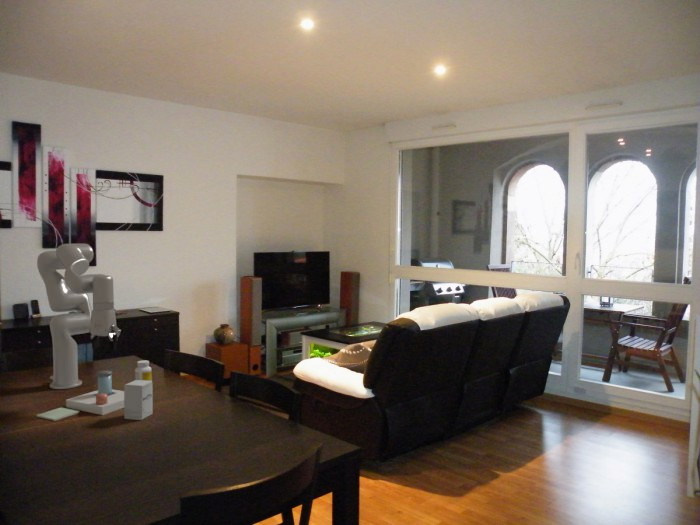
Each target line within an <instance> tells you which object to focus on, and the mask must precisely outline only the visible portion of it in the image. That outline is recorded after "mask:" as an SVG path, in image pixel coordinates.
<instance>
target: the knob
mask: <svg viewBox="0 0 700 525" xmlns="http://www.w3.org/2000/svg"><path fill="white" fill-rule="evenodd" d="M107 402H108V400H107V394H106V393H100V394H97V395H96V404H105V403H107Z"/></svg>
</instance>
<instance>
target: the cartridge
mask: <svg viewBox="0 0 700 525" xmlns="http://www.w3.org/2000/svg"><path fill="white" fill-rule="evenodd" d="M112 375H113V371H112V370H100V371H96V376H97V390H98V394H100V393H106V394H107V396H109V395H112V389H113V387H112V386H113V385H112V384H113V382H112V381H113V380H112Z"/></svg>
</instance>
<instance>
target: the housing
mask: <svg viewBox="0 0 700 525" xmlns="http://www.w3.org/2000/svg"><path fill="white" fill-rule="evenodd" d="M97 394H98V389H97V390H94V391H90V392H88V393H84V394H79V395H77V396H73V397H70V398H68V399H65V408H67V409H72V410H77V411H82V412H87V413H91V414H96V415H101V416H104V415H106V414H109V413H112V412H115V411H119V410H121V409H123V408H124V390H120V389H119V390H118V389H113V388H112V395H109V396H107V400H108V402H107V403H105V404H96V395H97Z"/></svg>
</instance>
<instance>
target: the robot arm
mask: <svg viewBox="0 0 700 525" xmlns="http://www.w3.org/2000/svg"><path fill="white" fill-rule="evenodd" d="M94 254H95V253H94V250H93V248H92V246H90V245H89V244H88V243H63V244H61V245H58V247H57V248H56V250H48V251H47V250H46V251H43V252H41V253H39V255H38V256H37V260H36V265H37V269H38V272H39V275H40V277H41V279H42V280H43V283H44V286H45V292H46V296H47V300H48V305H49V308H50V310H51V311H52V312H54V313H60V314H57V315H55V316H53V317H51V319H50V321H49V329H50V334H51V338H52V339H51V340H52V341H51V342H52V359H53V360H52V361H53V363H52V364H53V365H52V366H53V368H52V369H53V372H52V375H50V377H49V380H52V382H50V384H49V388H50V389H53V390H66V389H72V388H77V387H80V386H81V385H82V384H83V380H81V379H79V366H78V365H79V364H78V362H79V360H78V357H79V356H78V344H77V343H78V342H76V340H75V339H74V338H73V337H72V336H75V335H80V334H81V335H82V334H86V333H87V334H89V336H90V339H91V349H92V350H96V349H99V348H101V344H100V343H101V338H100V337H108V338H109V342H108V345H109V346H108V348H109V349H108V350H109V352H113V351H118V340H119V338H120V335H121V331H122V329H120V328H119V327H118V326H117V319H116V318H117V317H116V311H115V302H114V297H115V296H114V278H113V276H111V275H106V274H102V273H97V274H96V273H94V274H93V273H91V274H85V273H86V272H87V271H88V270H89V268H90V263H91V262H92V260H93V259H94ZM59 270H61V271H62V270H64V275H63V274H61V273H60V272H58V271H59ZM88 294H92V307H91V302H90V298H89V295H88ZM66 312H70V313H66Z"/></svg>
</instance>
